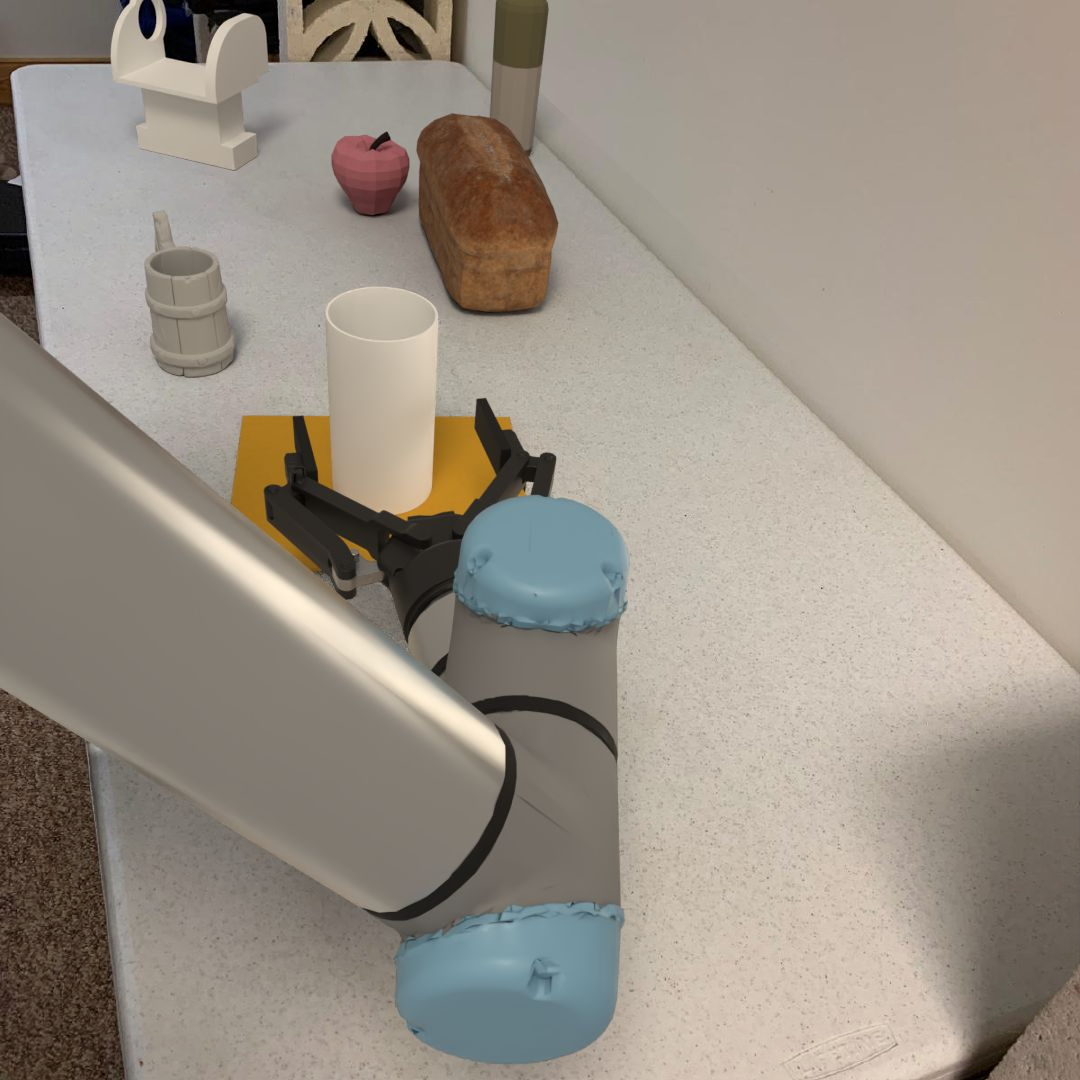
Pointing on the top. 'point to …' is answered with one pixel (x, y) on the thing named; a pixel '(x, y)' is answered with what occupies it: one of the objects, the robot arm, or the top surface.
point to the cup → (382, 396)
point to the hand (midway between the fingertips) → (391, 421)
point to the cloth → (271, 437)
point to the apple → (370, 171)
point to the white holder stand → (192, 88)
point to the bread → (485, 213)
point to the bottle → (518, 65)
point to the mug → (186, 307)
